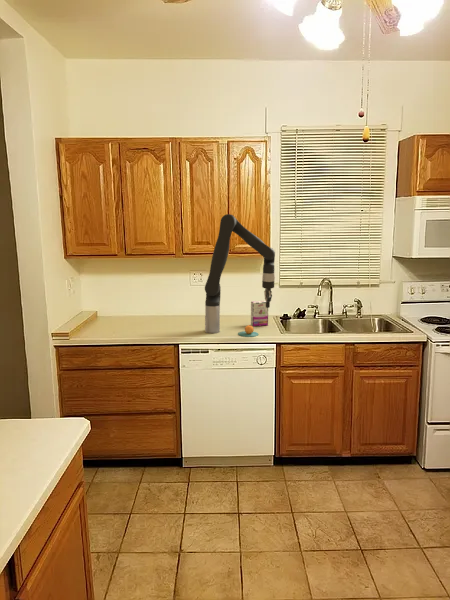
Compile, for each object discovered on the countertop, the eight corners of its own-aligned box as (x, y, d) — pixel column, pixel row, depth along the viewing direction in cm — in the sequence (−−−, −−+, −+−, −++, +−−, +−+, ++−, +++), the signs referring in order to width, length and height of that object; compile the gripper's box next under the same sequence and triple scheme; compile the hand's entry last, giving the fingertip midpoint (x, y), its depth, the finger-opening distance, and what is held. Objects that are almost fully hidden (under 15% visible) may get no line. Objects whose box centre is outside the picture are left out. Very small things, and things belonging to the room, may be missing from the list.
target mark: (239, 337, 276) (239, 336, 275) (236, 331, 288) (236, 331, 288) (260, 336, 277) (260, 336, 277) (256, 331, 290) (256, 330, 290)
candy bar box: (265, 323, 309) (266, 300, 306) (268, 325, 304) (268, 302, 301) (250, 324, 306) (250, 301, 303) (252, 326, 301) (253, 302, 298)
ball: (244, 326, 280) (253, 325, 279) (244, 324, 285) (253, 324, 285) (245, 335, 280) (253, 334, 280) (245, 333, 286) (253, 332, 285)
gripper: (260, 278, 283) (259, 305, 287) (264, 281, 270) (263, 309, 274) (272, 278, 284) (271, 305, 287) (276, 281, 271) (275, 309, 274)
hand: (267, 307), depth 281 cm, fingers closed
